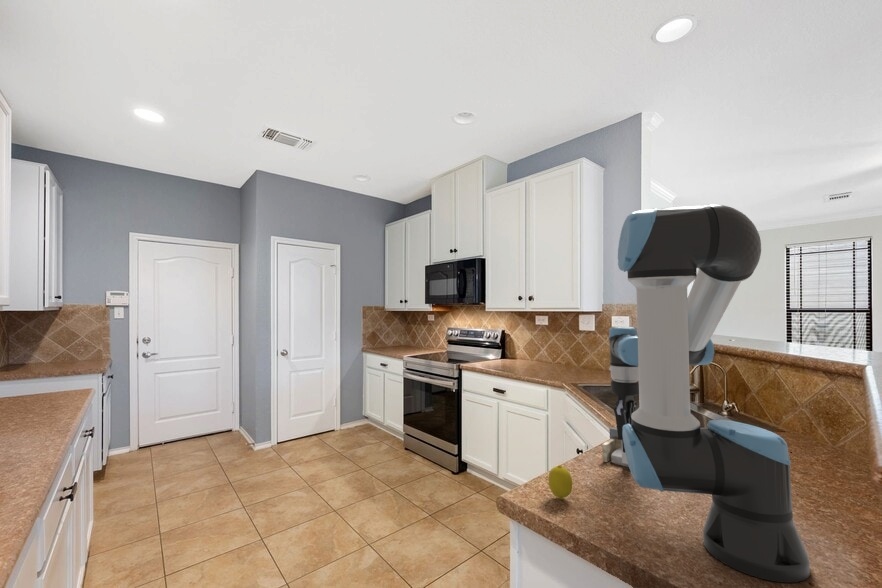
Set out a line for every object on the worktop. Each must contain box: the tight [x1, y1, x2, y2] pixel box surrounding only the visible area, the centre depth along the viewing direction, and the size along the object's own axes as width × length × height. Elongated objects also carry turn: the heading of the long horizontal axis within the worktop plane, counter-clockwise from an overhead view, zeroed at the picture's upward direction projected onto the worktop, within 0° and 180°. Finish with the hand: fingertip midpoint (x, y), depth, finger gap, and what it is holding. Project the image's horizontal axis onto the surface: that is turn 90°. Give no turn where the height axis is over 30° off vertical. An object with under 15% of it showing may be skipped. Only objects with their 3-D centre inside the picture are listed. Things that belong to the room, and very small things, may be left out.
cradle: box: [601, 438, 622, 463], centre depth 114 cm, size 8×14×5 cm, turn 47°
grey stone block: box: [610, 447, 629, 468], centre depth 115 cm, size 10×6×6 cm, turn 41°
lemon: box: [548, 464, 573, 500], centre depth 93 cm, size 6×6×8 cm
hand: (628, 463), depth 111 cm, fingers closed
